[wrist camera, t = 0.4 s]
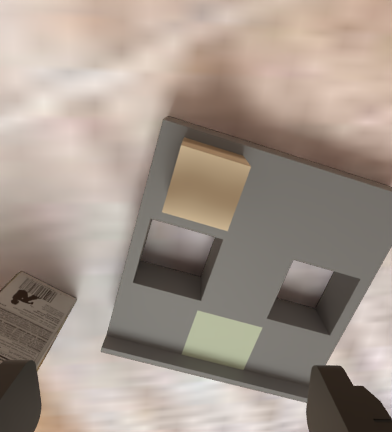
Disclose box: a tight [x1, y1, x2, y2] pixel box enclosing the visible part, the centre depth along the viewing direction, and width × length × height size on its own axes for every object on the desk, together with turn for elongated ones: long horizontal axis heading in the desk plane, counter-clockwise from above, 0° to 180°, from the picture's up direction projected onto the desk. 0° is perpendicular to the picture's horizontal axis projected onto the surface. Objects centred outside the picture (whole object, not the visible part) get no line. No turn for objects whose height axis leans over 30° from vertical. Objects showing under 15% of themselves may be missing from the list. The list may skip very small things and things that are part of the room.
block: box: [162, 137, 251, 231], centre depth 23 cm, size 4×4×4 cm
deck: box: [101, 116, 392, 403], centre depth 29 cm, size 20×20×6 cm
